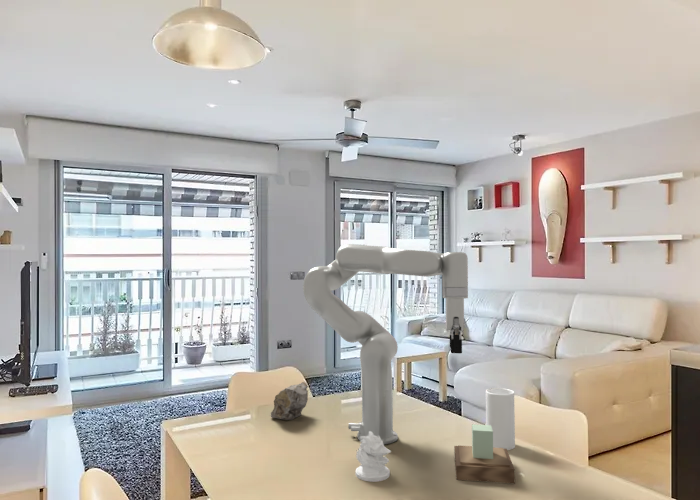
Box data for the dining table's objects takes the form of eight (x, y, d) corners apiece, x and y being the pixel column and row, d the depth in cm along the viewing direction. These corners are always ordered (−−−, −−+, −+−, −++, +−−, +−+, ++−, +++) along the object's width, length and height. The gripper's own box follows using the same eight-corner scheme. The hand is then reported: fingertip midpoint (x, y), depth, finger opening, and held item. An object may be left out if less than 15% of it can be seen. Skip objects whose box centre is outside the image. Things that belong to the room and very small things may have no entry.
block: (473, 457, 129) (472, 430, 129) (472, 450, 134) (471, 424, 134) (493, 459, 128) (492, 431, 128) (491, 452, 133) (491, 425, 133)
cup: (516, 451, 145) (515, 395, 145) (487, 449, 146) (486, 393, 147) (513, 441, 153) (512, 388, 153) (485, 439, 154) (484, 387, 155)
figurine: (387, 485, 122) (387, 442, 122) (350, 482, 124) (350, 439, 124) (394, 466, 133) (394, 427, 134) (360, 463, 135) (360, 424, 136)
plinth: (456, 479, 125) (456, 463, 125) (454, 458, 139) (454, 443, 139) (514, 483, 123) (514, 467, 123) (506, 461, 137) (506, 446, 137)
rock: (284, 405, 188) (300, 371, 185) (304, 419, 184) (321, 385, 182) (259, 418, 172) (276, 381, 170) (281, 434, 169) (299, 397, 166)
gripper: (442, 291, 159) (442, 345, 159) (442, 294, 142) (443, 355, 142) (466, 291, 158) (466, 346, 157) (469, 294, 141) (470, 355, 140)
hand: (455, 350), depth 150 cm, fingers open, 9 cm apart
